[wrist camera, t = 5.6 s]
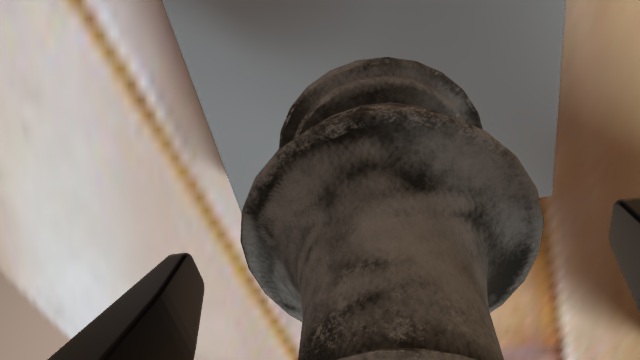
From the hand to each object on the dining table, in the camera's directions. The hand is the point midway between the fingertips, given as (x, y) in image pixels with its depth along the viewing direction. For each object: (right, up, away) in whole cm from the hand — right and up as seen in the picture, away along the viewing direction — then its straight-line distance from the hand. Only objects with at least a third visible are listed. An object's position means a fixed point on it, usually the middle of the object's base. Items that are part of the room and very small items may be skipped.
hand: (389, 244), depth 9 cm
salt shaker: (0, +2, +3) cm, 4 cm away
